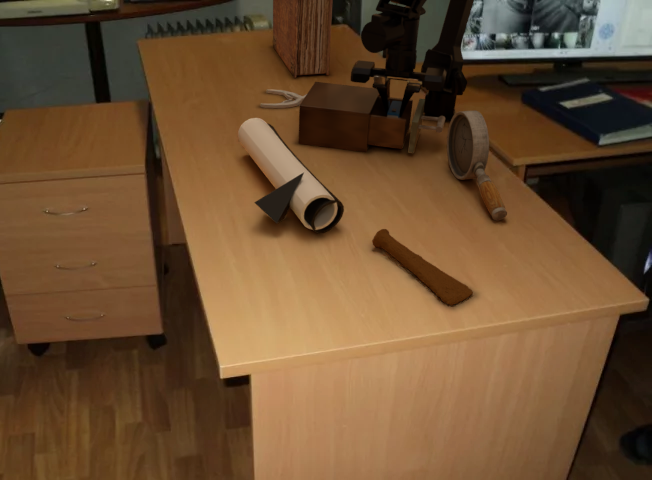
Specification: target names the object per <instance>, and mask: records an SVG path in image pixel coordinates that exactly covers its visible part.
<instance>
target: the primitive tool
mask: <svg viewBox="0 0 652 480" xmlns="http://www.w3.org/2000/svg"><path fill="white" fill-rule="evenodd" d="M371 242H372V246H374V247H375V248H377V249H383V250H384V251H385V252H387V253H388V254H390V255H391V257H393V258H394V259H395V260H397V261H398V262H399V263H401V264H402V266H403V268H406V269H407V270H408V271H410V272H411V273H412V274H413V275H415V276H416V277H417V278H418V279H419V280H420V281H421V282H422V283H423V284H424V285H426V286H427V287H428V288H429V289H430V290H431V291H432V292H433V293H434V294H435V295H436V297H438V298H440V300H441V302H442V303H445V304H446V305H447V306H454V305H456V304H458V303H459V302H463V301H464V300H466V299H467V298H469V297H471V296H472V295H473V294H474V291H473V290H472V289H471V288H469V286H468V285H466V284H464V283H463V282H461V281H459V279H456V278H455V277H454V276H453V277H452V276H451V275H449V274H448V273H446V272H444V271H443V270H442V269H440V268H439V267H437V266H436V265H434V264H432V263H431V262H429V261H427V260H426V259H424V258H423V257H422V256H421V255H420V254H417V253H415V252H413V251H412V250H411V249H409V248H408V247H407V246H405V245H404V244H402V243H401V242H400V241H398V240H397V239H396V238H394V236H391V234H390V231H389V230H388V229H387V228H381V229H379V230H378V231H377V232H376V233H375V235H374V236H373V238H372V240H371Z"/></svg>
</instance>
